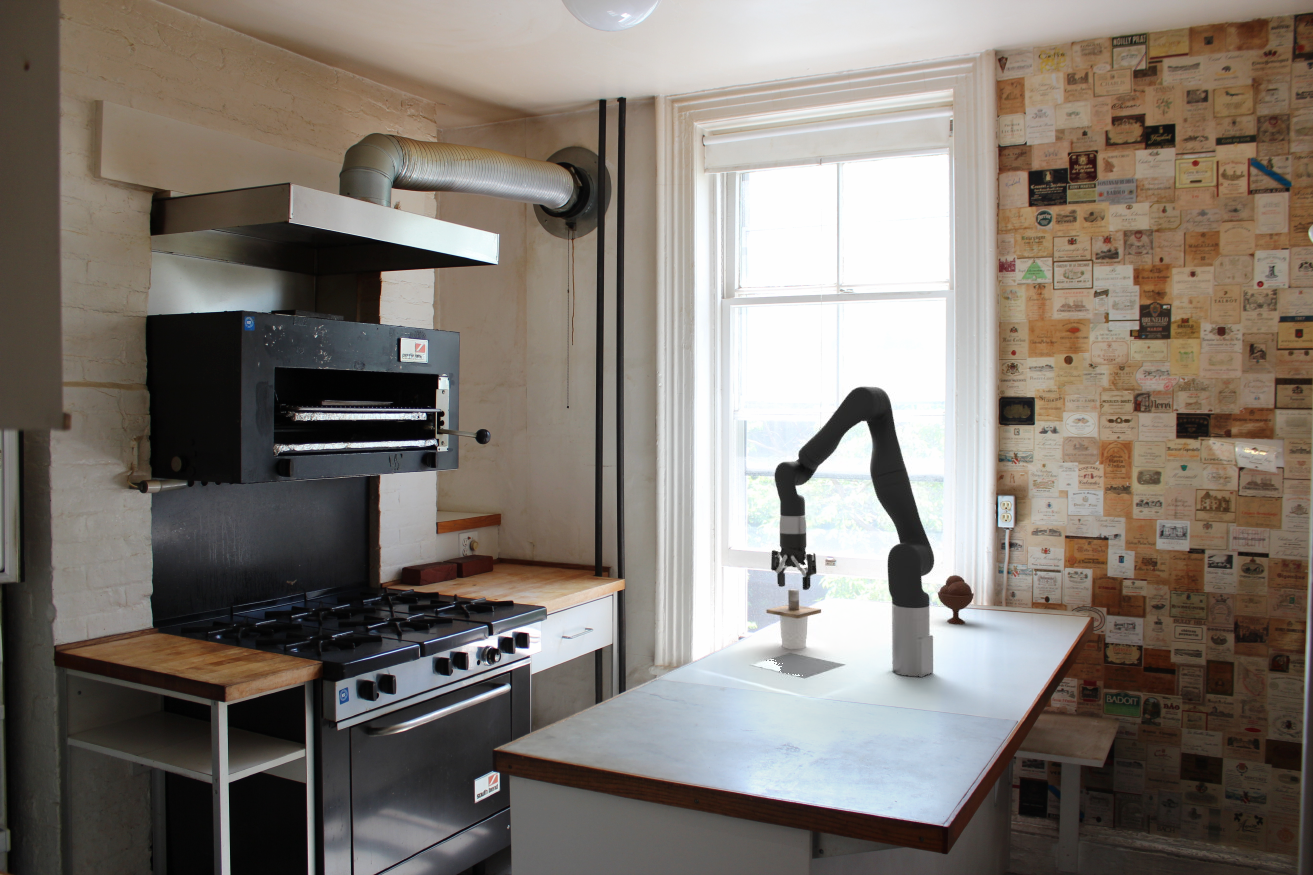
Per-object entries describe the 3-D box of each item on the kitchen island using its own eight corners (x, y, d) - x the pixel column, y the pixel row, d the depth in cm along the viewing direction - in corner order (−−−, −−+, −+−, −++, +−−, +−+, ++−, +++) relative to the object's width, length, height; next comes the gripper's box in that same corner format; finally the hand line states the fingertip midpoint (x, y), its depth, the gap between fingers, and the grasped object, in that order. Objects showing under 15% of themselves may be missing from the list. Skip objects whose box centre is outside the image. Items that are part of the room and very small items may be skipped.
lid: (821, 612, 252) (820, 589, 252) (797, 618, 244) (797, 595, 244) (790, 607, 260) (790, 585, 260) (766, 612, 252) (766, 590, 252)
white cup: (799, 652, 247) (799, 616, 247) (775, 648, 251) (774, 613, 251) (812, 646, 253) (812, 612, 253) (788, 643, 258) (788, 608, 258)
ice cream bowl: (930, 620, 286) (930, 574, 286) (957, 617, 291) (956, 572, 291) (954, 627, 277) (954, 579, 277) (981, 623, 281) (981, 576, 281)
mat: (845, 666, 231) (845, 664, 231) (804, 679, 219) (804, 677, 219) (790, 654, 244) (790, 652, 244) (748, 666, 232) (748, 664, 232)
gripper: (821, 531, 250) (822, 589, 250) (781, 528, 260) (781, 583, 260) (805, 534, 244) (806, 592, 244) (765, 530, 255) (765, 586, 255)
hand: (793, 587), depth 252 cm, fingers open, 8 cm apart
